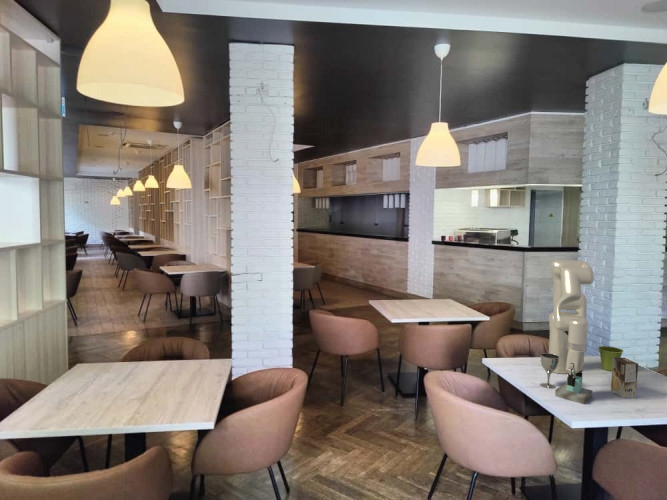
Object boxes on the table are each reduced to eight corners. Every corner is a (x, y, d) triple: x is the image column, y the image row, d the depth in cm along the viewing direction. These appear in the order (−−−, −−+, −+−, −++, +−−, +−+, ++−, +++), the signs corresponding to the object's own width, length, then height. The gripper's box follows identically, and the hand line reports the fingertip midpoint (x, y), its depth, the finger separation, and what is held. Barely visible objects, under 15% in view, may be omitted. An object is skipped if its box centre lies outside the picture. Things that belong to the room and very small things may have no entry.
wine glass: (555, 384, 222) (557, 354, 221) (558, 389, 215) (560, 359, 213) (538, 381, 225) (540, 352, 223) (540, 387, 217) (541, 357, 216)
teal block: (566, 389, 207) (567, 377, 206) (570, 387, 210) (570, 374, 210) (578, 393, 203) (579, 380, 203) (581, 390, 207) (582, 377, 206)
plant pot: (603, 364, 254) (605, 344, 253) (626, 370, 244) (628, 350, 243) (592, 367, 248) (593, 347, 247) (614, 374, 238) (616, 353, 237)
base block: (555, 396, 207) (555, 389, 207) (564, 389, 215) (564, 383, 215) (583, 404, 198) (584, 397, 198) (592, 396, 207) (592, 390, 207)
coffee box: (636, 397, 207) (639, 363, 206) (623, 398, 206) (626, 363, 205) (622, 390, 216) (624, 357, 215) (609, 390, 216) (612, 357, 214)
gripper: (574, 341, 214) (571, 376, 215) (561, 348, 202) (559, 385, 203) (591, 344, 209) (589, 380, 210) (579, 352, 196) (577, 390, 198)
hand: (574, 383), depth 206 cm, fingers open, 9 cm apart
